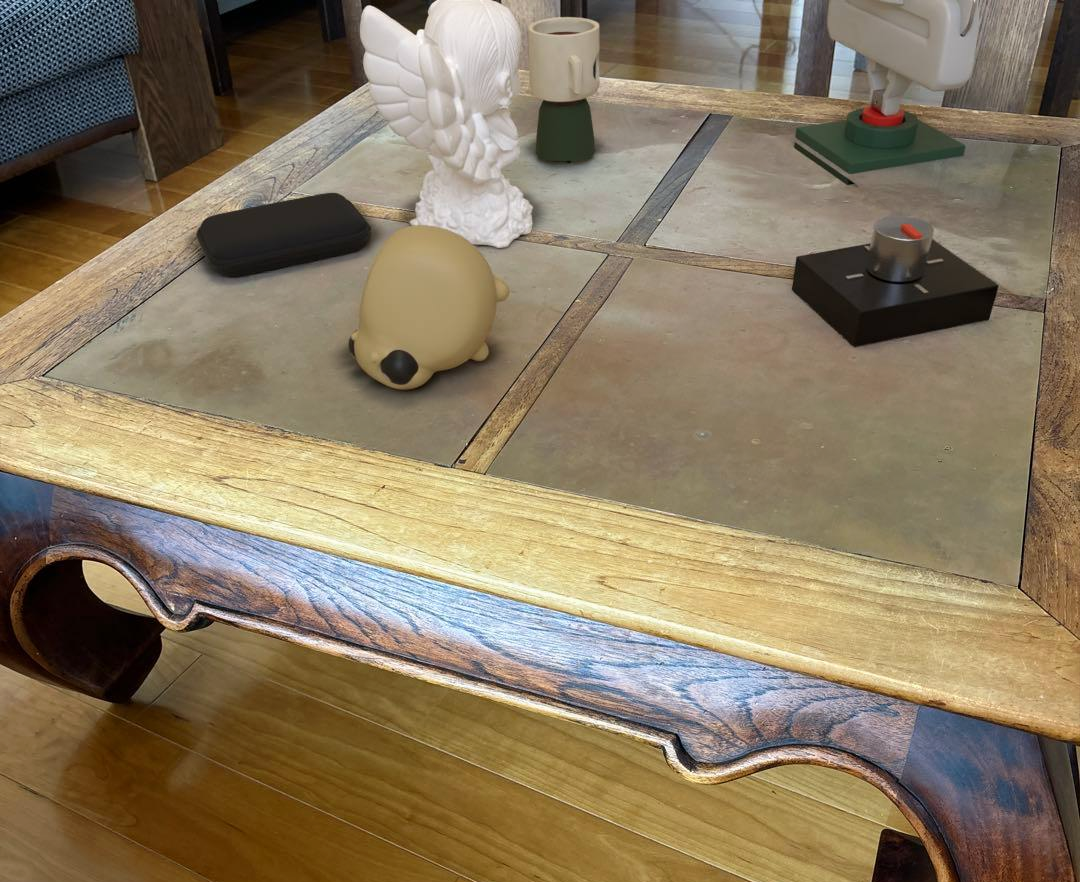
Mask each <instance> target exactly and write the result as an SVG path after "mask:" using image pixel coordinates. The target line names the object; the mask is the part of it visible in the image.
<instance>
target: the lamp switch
mask: <svg viewBox="0 0 1080 882" xmlns="http://www.w3.org/2000/svg"><path fill="white" fill-rule="evenodd" d="M865 108H866V107H861V108H856V109H854V110H852V111H850V112H849V113H847V114H846V119H845V120H839V121H832V122H825V123H817V124H812V125H805V126H797V127H796V129H795V138H796V140H798V141H800V142H801V143H802V144H805V146H807V147H809V148H810V149H811V150H813V151H814V152H816V153H818V155H820V156H822V157H823V158H825V159H826V160H827V161H828V162H830V163H831V164H833V165H835V166H836V167H838V168H839V169H841V170H842V171H843V172H845V173H846V174H848V175H852V174H858V173H866V172H872V171H878V170H883V169H890V168H891V169H892V168H895V167H902V166H909V165H914V164H921V163H926V162H933V161H939V160H945V159H946V160H947V159H952V158H958V157H964V154H965V149H966V145H965V144H964V143H962V142H960V141H959V140H956V139H955V138H953V137H951V136H949V135H947V134H945V132H942V131H940V130H939V129H937V128H935V127H933V126H932V125H930V124H928V123H926V122H924V121H922V120H920V119H919V118H918V116H917V115H914V113H911V112H909V111H907V110H904V109H902V110H903V111H904V117H903V122H902V124H901V125H896V126H875V125H871V124H867V123H864V122H863V121H862V115H863V110H864V109H865ZM793 148H794V149H795V150H796V151H798V152H799V153H801V154H802V155H803V156H805V157H806V158H807V159H809V160H811V161H812V162H813V163H815V164H816V165H818V166H819V167H820V168H822V169H823V170H824V171H826V172H827V173H829V174H830V175H832V176H833V177H835V178H836V179H838V180H839V181H840V182H842V183H843V184H845V185H846V186H852V185H856V183H855V182H854V181H853V180H851V179H850V178H849V177H847V176H845V175H844V174H842V173H841V172H840V171H838V170H836V168H833V166H831V165H830V164H828V163H826V162H825V161H824V160H822V159H821V158H819V157H817V156H816V155H814V154H813V153H812V152H810V151H809V150H807V149H806V148H805V147H803V146H802V145H801V144H798V143H797V142H796V141H794V145H793Z"/></svg>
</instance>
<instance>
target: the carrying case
mask: <svg viewBox="0 0 1080 882" xmlns="http://www.w3.org/2000/svg"><path fill="white" fill-rule="evenodd" d="M372 231H373V229H372V226H371V225H370V224H369V223H368V221H367V220H366V219H365V218H364V217H363V215H362V214H361V212H359V210H358V209H357V208H356V206H355V205H354V204H353V202H352V201H350V200H349V199H347V198H346V197H345V196H344V195H342V194H341V193H338V192H324V193H318V194H314V195H308V196H302V197H297V198H292V199H287V200H281V201H277V202H272V203H265V204H262V205H261V204H260V205H256V206H250V207H247V208H241V209H235V210H231V211H226V212H222V213H216V214H213V215H210V216H207V217H205V218H204V220H202V222H201V224H200V226H199V227H198V229H197V231H196V234H195V235H196V240H197V242H198V244H199V246H200V249H201V250H202V253H203V255H204V257H205V260H206V261H207V263H208V265H209V267H211V269H213V270H215V271H217V272H218V273H219V274H221V275H222V276H225V277H231V278H232V277H234V278H235V277H242V276H247V275H251V274H257V273H261V272H265V271H270V270H276V269H280V268H285V267H290V266H294V265H300V264H304V263H309V262H313V261H318V260H323V259H327V258H331V257H336V256H341V255H344V254H349V253H354V252H356V251H359V250H361V249H362V248H364V247H365V246H366V244H367V242H368V241H369V240H370V238H371V237H372V233H373V232H372Z"/></svg>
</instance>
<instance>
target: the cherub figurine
mask: <svg viewBox="0 0 1080 882" xmlns="http://www.w3.org/2000/svg"><path fill="white" fill-rule="evenodd" d="M427 14H428V15H427V18H426V22H425V25H424V28H423V29H422V28H421V29H418V30H417V32H416V34H414V33H413V32H412V31H410V30H409V29H408V28H406V27H405V26H403V24H402V25H401V23H399V22H398V21H397V20H396V19H393V18H391V17H390V16H389V15H388V14H386V13H385V12H383V11H381V9H379V8H377V7H376V6H373V5H366V6H365V7H364V8H363V10H362V13H361V16H360V24H359V36H360V42H361V44H362V46H363V48H364V50H365V52H364V54H363V58H362V63H363V65H362V66H363V70H364V74H365V76H366V78H367V80H368V92H369V97H370V98H371V100H372V101H373V103H375V106H376V110H377V112H378V114H379V115H380V116H381V117H382V119H384V120H386V121H387V124H388V127H389V128H390V130H391V131H392V132H393V133H394V134H396V135H397V136H398V137H403V138H404V139H405V141H406V142H407V143H408V144H409V145H411V146H412V147H414V148H415V149H417V150H426V151H427V152H429V154H428V155H427V159H428V160H429V162H430V163H431V165H432V169H431V170H429V171H428V172H427V173H425V175H424V178H423V181H422V189H421V190H420V191H419V192H418V193H419V194H418V197H419V199H420V200H419V201H417V202H415V208H414V212H415V218H413V219H410V221H409V224H410V226H414V225H428V226H435V227H440V228H443V229H447V230H449V231H452V232H454V233H456V234H458V235H460V236H462V237H464V238H465V239H467V240H468V241H469V242H471V243H472V244H473V245H481V246H482V245H483V246H492V247H495V248H497V249H503V248H508V247H509V246H510V244H512V242H513V241H514V240H516V239H518V238H519V237H520V236H521V235H530V234H531V233H532V230H533V223H534V222H533V216H532V214H533V210H534V207H533V205H532V204H530V201H529V200H528V199H526V198H524V193H523V192H522V191H521V189H519V187H518V186H516V185H511V184H512V183H511V181H510V178H506V177H505V175H504V174H502V170H503V168H505V167H506V166H508V165H509V164H511V163H513V162H515V161H517V160H518V158H519V157H520V156H521V146H520V140H519V132H518V128H517V126H516V124H515V122H514V121H513V119H512V118H511V111H510V110H509V108H507V107H509V106H511V105H512V103H513V101H514V100H516V99H517V98H518V97H519V95H520V93H521V89H522V88H521V87H522V84H521V83H522V82H521V78H520V77H521V76H520V72H519V71H520V70H519V62H520V54H521V51H522V50H521V49H522V32H521V28H520V26H519V23H518V22H517V20H516V17H515V16H514V13H512V11H511V10H510V9H509V8H508V7H507V6H505V5H503V4H502V3H500V2H498V1H496V0H435V1H434V2H432V3H431V5H430V6H429V8H428V10H427Z"/></svg>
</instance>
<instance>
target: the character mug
mask: <svg viewBox="0 0 1080 882" xmlns="http://www.w3.org/2000/svg"><path fill="white" fill-rule="evenodd" d="M527 35H528V36H527V38H528V39H527V40H528V42H527V43H528V67H529V68H528V69H529V87H530V95H531V96H532V97H535V98H536V99H538V100H542V101H541V104H540V106H539V109H538V116H537V117H538V118H537V125H536V127H537V128H536V137H535V138H536V139H535V140H536V141H535V155H536V156H537V158H538V159H541V160H545V161H549V162H552V161H553V162H566V163H567V164H571V163H572V162H573V161H587V160H589V159H590V158H592V157H593V158H594V155H595V153H596V145H595V144H596V143H595V132H594V126H593V117H592V110H591V106H590V104H589V102H588V99H587V98H589V97H591V96H593V95H594V94H596V93H597V92H598V90H599V87H600V84H601V83H600V82H601V81H600V80H601V79H600V51H601V50H600V49H601V48H600V23H599V22H597V21H595V20H593V19H590V18H584V17H575V16H559V17H558V16H557V17H549V18H543V19H539V20H537V21H533V22H532V23H530V24H529V25H528V26H527Z"/></svg>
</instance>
